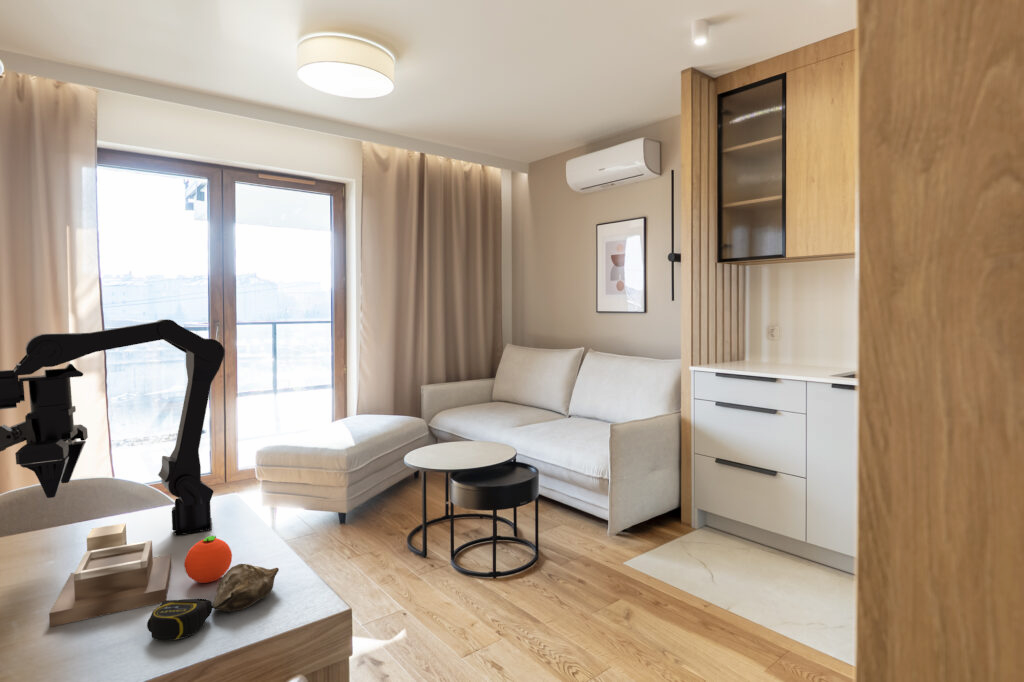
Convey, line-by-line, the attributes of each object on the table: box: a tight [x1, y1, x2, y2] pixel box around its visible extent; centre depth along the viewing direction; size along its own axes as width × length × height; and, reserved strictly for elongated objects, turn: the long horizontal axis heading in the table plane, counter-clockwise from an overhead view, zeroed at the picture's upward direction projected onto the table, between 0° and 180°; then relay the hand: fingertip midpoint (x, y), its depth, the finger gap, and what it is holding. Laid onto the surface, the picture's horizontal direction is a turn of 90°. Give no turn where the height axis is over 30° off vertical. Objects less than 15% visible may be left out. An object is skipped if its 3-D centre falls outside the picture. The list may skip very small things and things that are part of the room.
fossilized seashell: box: [212, 563, 279, 612], centre depth 85 cm, size 8×7×10 cm
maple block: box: [86, 523, 127, 551], centre depth 99 cm, size 5×5×6 cm
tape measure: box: [146, 598, 213, 642], centre depth 77 cm, size 7×7×4 cm
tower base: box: [48, 539, 172, 628], centre depth 88 cm, size 14×14×6 cm
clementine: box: [183, 535, 233, 584], centre depth 92 cm, size 8×7×7 cm
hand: (58, 489), depth 100 cm, fingers open, 9 cm apart
